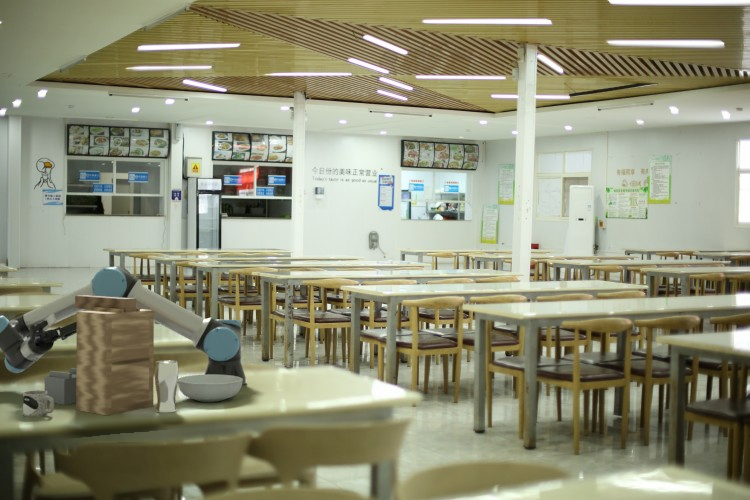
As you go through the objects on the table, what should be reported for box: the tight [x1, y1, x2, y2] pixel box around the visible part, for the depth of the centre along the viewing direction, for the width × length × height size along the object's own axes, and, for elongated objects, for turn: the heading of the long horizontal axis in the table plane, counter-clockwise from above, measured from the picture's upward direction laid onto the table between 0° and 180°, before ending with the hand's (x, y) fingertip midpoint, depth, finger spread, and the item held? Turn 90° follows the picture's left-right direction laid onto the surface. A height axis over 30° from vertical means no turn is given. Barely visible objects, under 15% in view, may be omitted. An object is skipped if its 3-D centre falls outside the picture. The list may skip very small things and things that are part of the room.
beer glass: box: [154, 359, 179, 414], centre depth 270 cm, size 7×7×15 cm
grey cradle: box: [44, 367, 76, 406], centre depth 287 cm, size 10×12×10 cm
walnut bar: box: [75, 295, 136, 312], centre depth 277 cm, size 24×4×4 cm, turn 56°
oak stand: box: [75, 307, 155, 416], centre depth 274 cm, size 14×18×31 cm
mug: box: [22, 389, 55, 418], centre depth 263 cm, size 10×7×7 cm, turn 68°
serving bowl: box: [177, 374, 243, 403], centre depth 291 cm, size 21×21×7 cm
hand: (72, 315), depth 286 cm, fingers open, 13 cm apart
